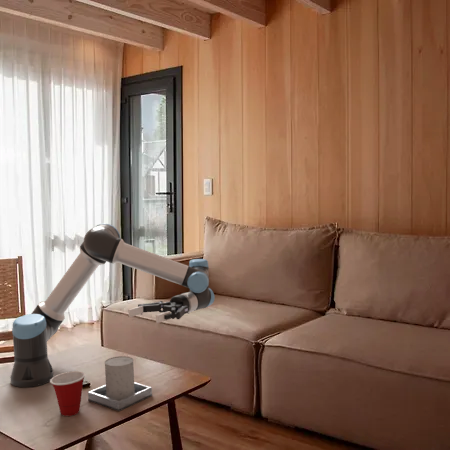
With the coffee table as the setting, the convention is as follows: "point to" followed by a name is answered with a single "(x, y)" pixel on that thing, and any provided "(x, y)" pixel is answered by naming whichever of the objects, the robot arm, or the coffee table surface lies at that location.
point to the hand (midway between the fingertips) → (142, 316)
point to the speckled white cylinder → (119, 377)
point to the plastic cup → (68, 391)
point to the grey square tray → (100, 398)
